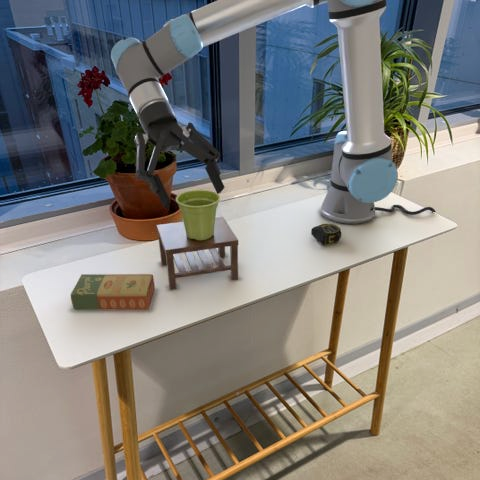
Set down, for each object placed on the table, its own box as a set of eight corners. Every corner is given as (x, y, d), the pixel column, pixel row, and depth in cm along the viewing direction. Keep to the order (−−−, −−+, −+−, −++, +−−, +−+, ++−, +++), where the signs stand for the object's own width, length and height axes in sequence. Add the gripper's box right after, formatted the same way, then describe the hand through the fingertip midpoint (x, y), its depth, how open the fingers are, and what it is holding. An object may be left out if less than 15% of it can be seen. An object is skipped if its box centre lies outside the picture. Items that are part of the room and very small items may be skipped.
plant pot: (173, 230, 110) (170, 193, 105) (212, 223, 113) (211, 187, 108) (186, 247, 103) (183, 209, 98) (227, 239, 106) (226, 202, 101)
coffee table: (224, 253, 122) (223, 216, 116) (238, 279, 112) (238, 240, 106) (160, 262, 118) (156, 224, 112) (169, 290, 108) (165, 250, 102)
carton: (149, 311, 102) (146, 293, 99) (73, 310, 102) (68, 293, 99) (155, 289, 108) (153, 272, 106) (83, 289, 109) (80, 272, 106)
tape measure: (309, 237, 129) (310, 224, 127) (332, 234, 131) (334, 221, 129) (320, 249, 124) (322, 235, 122) (344, 245, 126) (346, 231, 123)
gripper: (196, 112, 114) (234, 192, 114) (96, 130, 102) (138, 219, 101) (208, 92, 108) (248, 176, 107) (102, 107, 96) (147, 203, 95)
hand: (195, 197), depth 104 cm, fingers open, 13 cm apart
